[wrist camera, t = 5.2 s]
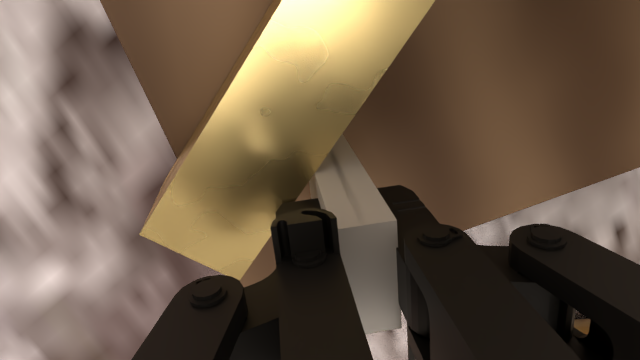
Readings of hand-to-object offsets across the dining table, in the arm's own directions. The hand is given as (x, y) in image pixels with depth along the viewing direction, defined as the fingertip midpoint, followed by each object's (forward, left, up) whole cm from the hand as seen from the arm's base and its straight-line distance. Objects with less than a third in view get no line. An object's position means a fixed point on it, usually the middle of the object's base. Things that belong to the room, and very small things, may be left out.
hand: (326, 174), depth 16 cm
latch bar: (-1, -4, -1) cm, 4 cm away
